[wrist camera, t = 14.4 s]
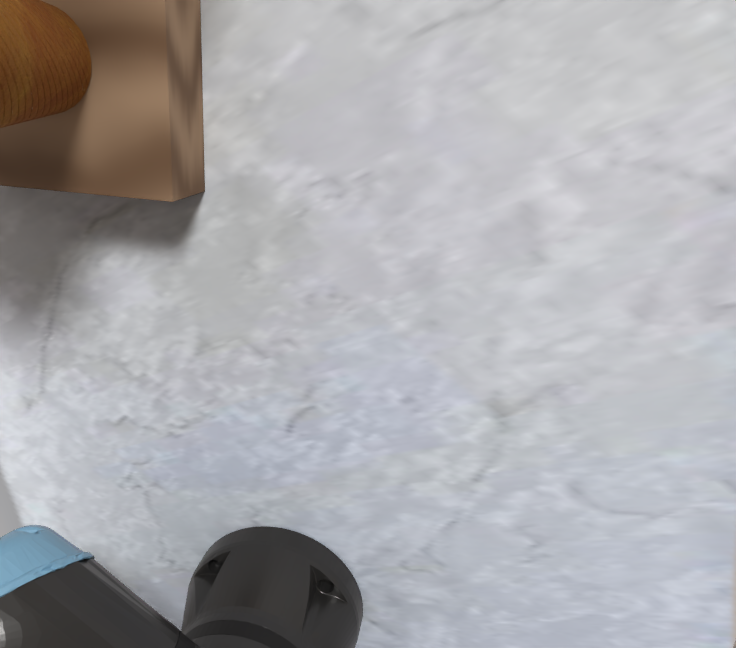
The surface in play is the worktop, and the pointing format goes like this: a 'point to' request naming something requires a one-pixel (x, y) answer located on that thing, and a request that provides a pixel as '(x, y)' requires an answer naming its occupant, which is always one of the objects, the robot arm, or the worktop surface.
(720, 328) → the worktop surface
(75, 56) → the disposable coffee cup
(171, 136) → the walnut base
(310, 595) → the robot arm
